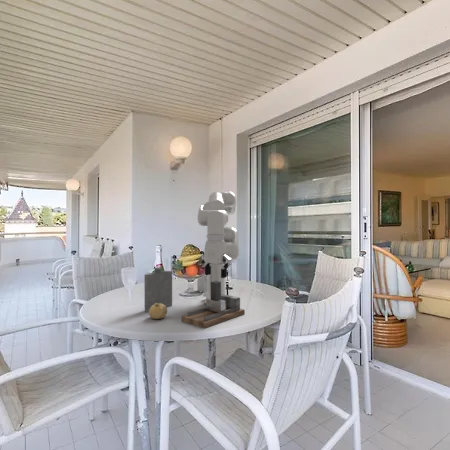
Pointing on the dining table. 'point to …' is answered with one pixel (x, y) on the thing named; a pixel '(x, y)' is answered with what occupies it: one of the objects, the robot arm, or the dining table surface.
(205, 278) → the tea bag
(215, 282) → the jaw
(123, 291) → the dining table surface
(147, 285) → the hip flask
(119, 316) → the dining table surface
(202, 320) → the cracker base
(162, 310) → the onion
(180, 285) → the dining table surface
